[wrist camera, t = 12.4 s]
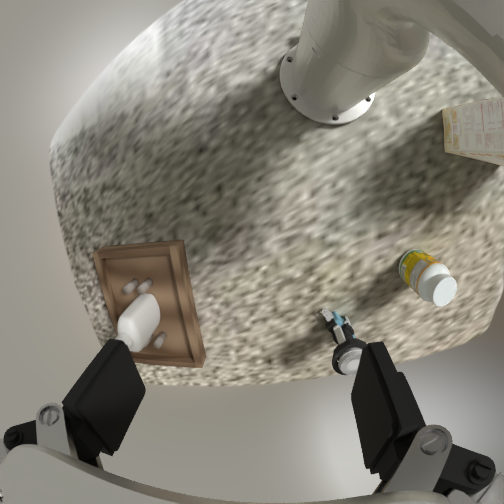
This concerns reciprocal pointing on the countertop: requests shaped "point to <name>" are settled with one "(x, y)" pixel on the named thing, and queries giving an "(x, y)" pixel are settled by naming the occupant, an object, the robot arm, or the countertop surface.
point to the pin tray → (165, 292)
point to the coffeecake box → (476, 130)
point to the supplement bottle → (427, 277)
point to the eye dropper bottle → (139, 322)
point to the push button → (344, 344)
